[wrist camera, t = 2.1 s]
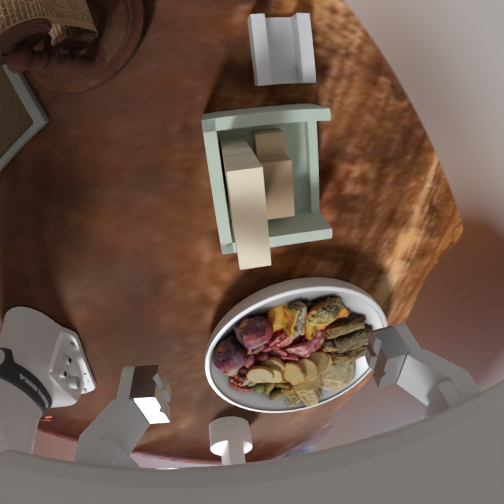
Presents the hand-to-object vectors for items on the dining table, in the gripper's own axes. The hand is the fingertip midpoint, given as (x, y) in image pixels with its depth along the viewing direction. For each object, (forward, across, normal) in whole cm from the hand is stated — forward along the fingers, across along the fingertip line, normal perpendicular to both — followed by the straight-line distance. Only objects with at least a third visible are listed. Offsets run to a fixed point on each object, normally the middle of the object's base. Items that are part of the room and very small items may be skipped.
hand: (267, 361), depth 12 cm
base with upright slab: (+28, +8, +56) cm, 63 cm away
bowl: (+29, -7, +31) cm, 43 cm away
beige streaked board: (+27, 0, +1) cm, 27 cm away
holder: (+28, -7, -13) cm, 32 cm away
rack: (+28, -4, +1) cm, 29 cm away
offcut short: (+24, -4, +2) cm, 25 cm away
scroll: (+28, +14, -19) cm, 37 cm away
